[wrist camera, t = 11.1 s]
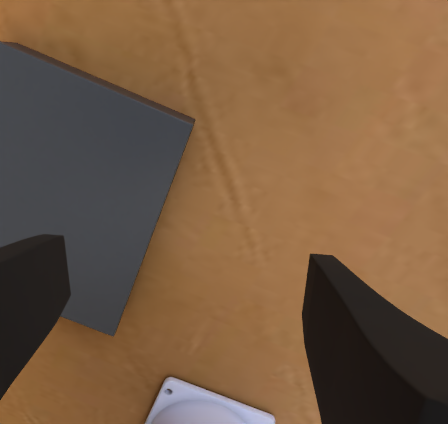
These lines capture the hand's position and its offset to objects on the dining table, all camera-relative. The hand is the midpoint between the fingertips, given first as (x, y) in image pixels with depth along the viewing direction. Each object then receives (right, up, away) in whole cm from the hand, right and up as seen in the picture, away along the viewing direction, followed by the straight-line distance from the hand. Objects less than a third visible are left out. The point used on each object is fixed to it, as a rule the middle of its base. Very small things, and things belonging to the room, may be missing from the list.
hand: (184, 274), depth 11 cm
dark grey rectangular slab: (-7, +3, +11) cm, 13 cm away
